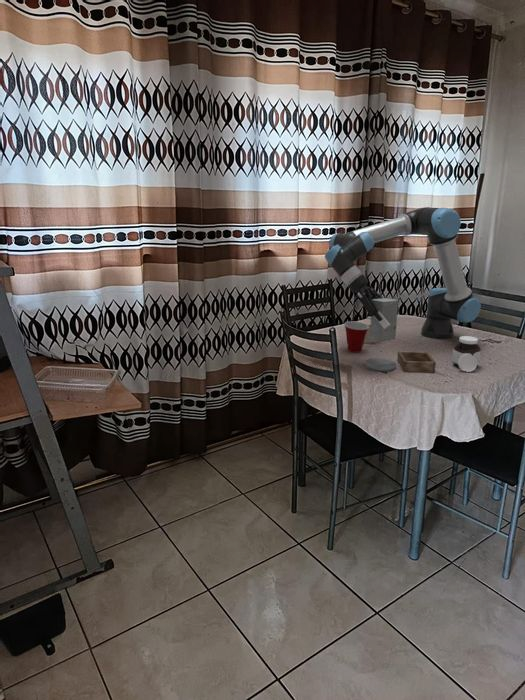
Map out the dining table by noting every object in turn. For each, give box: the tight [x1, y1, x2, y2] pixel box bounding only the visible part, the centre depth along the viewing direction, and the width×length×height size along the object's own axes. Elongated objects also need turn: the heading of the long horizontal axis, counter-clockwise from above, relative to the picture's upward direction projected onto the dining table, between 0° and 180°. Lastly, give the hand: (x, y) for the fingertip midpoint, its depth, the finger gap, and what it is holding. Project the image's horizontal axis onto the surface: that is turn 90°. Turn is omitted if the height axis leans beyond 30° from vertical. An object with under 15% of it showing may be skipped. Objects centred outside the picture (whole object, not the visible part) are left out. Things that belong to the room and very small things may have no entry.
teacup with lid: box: [359, 316, 378, 344], centre depth 229 cm, size 12×9×12 cm
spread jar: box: [451, 335, 482, 373], centre depth 195 cm, size 12×11×12 cm
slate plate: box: [365, 358, 397, 372], centre depth 197 cm, size 12×12×1 cm
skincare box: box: [370, 297, 399, 343], centre depth 191 cm, size 8×7×16 cm
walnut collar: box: [396, 351, 437, 373], centre depth 197 cm, size 12×13×4 cm
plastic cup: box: [344, 320, 369, 353], centre depth 215 cm, size 11×11×12 cm
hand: (391, 323), depth 190 cm, fingers closed on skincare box, 10 cm apart
